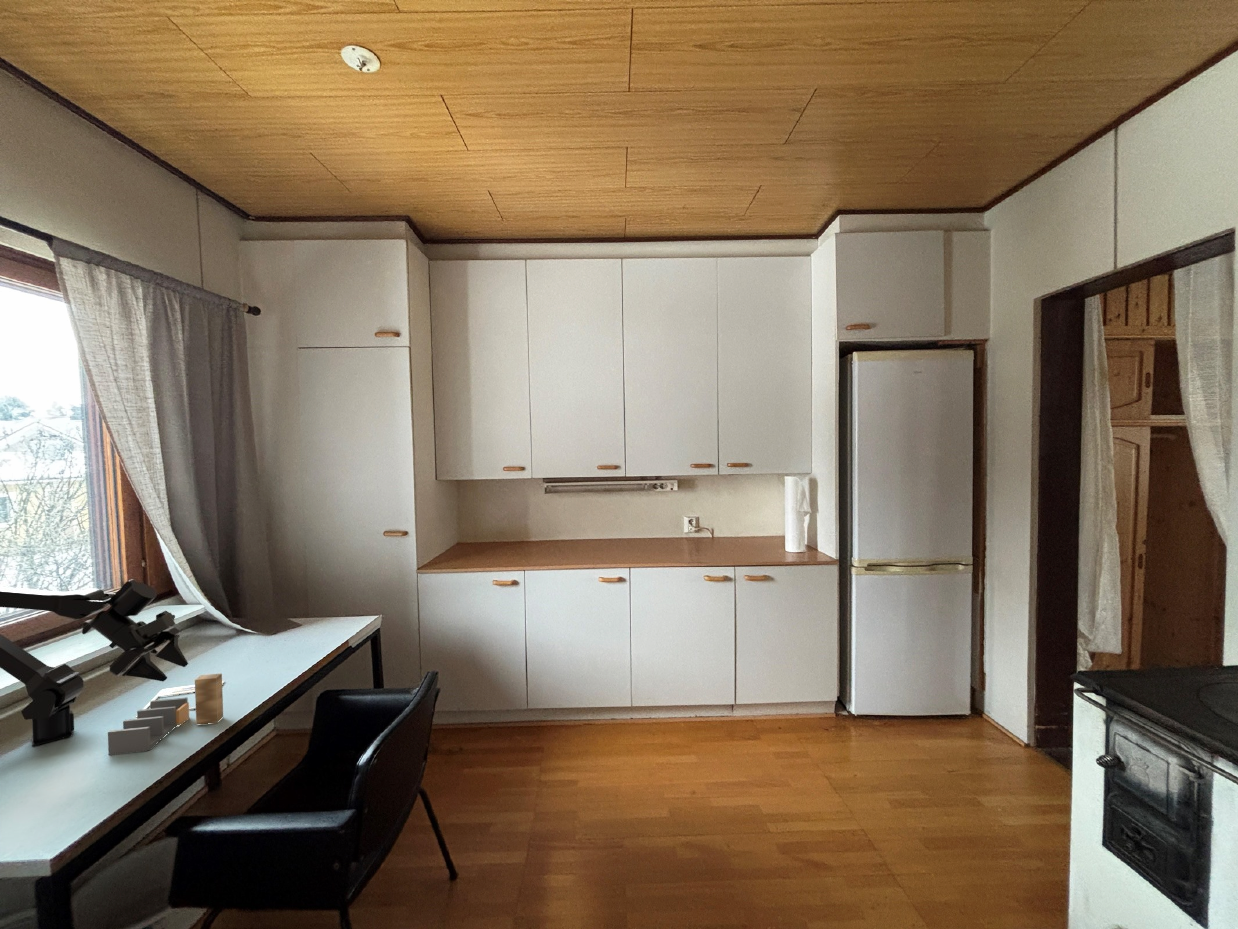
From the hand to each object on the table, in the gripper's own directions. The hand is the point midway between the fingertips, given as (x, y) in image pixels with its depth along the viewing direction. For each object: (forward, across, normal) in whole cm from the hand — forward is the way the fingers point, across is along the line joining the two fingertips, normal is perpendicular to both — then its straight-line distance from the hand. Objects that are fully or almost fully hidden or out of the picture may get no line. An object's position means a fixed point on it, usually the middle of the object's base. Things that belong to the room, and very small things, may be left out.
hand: (176, 672), depth 139 cm
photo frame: (+5, +16, +14) cm, 22 cm away
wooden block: (+14, 0, +4) cm, 14 cm away
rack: (+6, -4, +12) cm, 14 cm away
